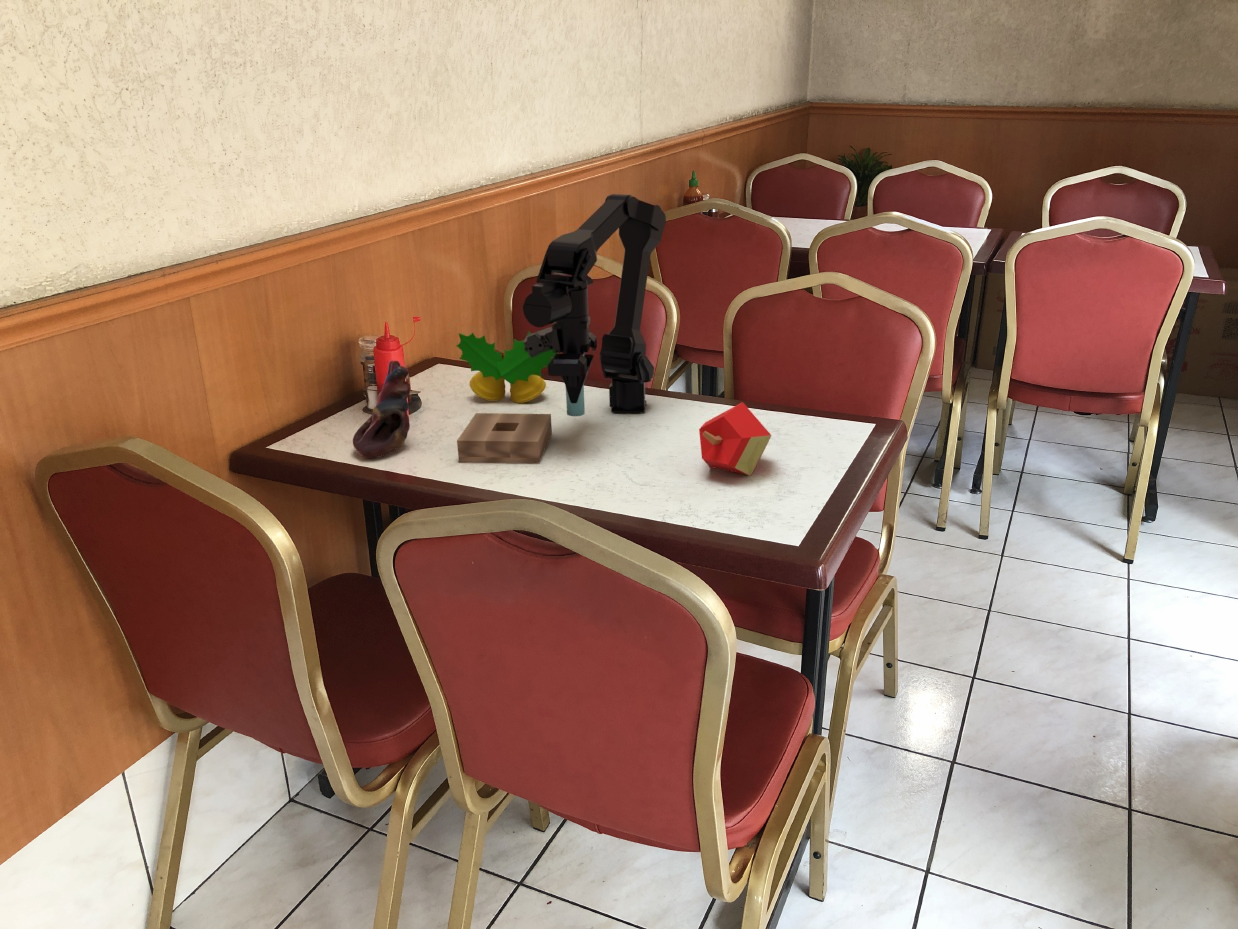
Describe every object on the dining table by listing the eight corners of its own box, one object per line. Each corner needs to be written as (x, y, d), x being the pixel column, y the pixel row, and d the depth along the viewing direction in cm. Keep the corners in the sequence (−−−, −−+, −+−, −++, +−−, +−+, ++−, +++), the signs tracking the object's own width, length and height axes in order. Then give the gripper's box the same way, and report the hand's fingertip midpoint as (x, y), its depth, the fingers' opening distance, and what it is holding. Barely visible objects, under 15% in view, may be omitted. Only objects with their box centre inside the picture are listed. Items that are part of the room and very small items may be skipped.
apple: (781, 477, 163) (744, 478, 150) (716, 468, 169) (676, 468, 156) (790, 407, 162) (753, 402, 149) (724, 400, 168) (684, 395, 156)
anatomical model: (340, 452, 173) (329, 371, 167) (399, 432, 181) (390, 355, 175) (370, 465, 167) (359, 381, 161) (429, 444, 175) (421, 364, 169)
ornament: (567, 393, 201) (564, 322, 195) (561, 406, 193) (557, 333, 187) (469, 392, 203) (464, 321, 197) (459, 405, 195) (453, 332, 189)
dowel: (585, 410, 175) (584, 368, 172) (583, 416, 172) (581, 373, 169) (568, 410, 176) (566, 367, 173) (565, 416, 173) (563, 373, 170)
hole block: (551, 434, 178) (550, 413, 177) (538, 463, 166) (537, 441, 164) (477, 433, 180) (475, 413, 178) (458, 462, 167) (456, 440, 165)
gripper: (535, 301, 176) (539, 383, 182) (515, 327, 159) (521, 417, 165) (595, 301, 175) (598, 384, 181) (582, 327, 158) (585, 417, 164)
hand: (575, 399), depth 173 cm, fingers closed on dowel, 3 cm apart
